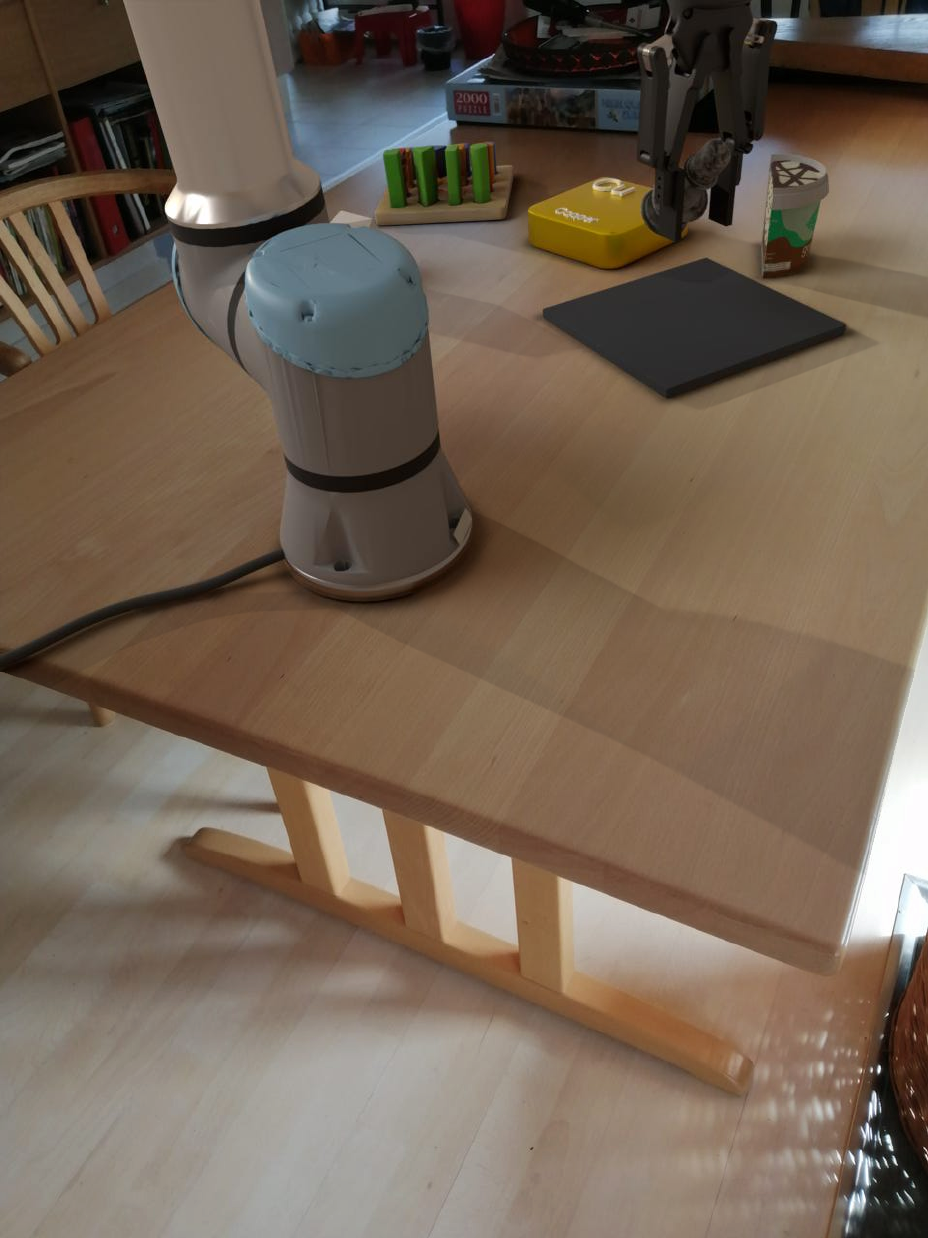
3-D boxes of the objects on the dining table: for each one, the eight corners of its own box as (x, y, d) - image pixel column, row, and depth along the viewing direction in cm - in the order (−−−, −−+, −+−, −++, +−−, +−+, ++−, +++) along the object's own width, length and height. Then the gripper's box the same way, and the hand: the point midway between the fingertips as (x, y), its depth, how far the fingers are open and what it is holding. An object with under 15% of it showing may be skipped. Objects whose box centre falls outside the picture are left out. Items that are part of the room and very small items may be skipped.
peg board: (514, 176, 144) (511, 111, 139) (505, 220, 131) (501, 151, 126) (395, 182, 147) (387, 119, 141) (374, 226, 134) (365, 159, 128)
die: (411, 288, 119) (390, 204, 118) (375, 278, 111) (352, 188, 110) (351, 311, 123) (330, 229, 122) (312, 303, 115) (289, 216, 114)
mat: (666, 398, 94) (666, 389, 93) (542, 317, 109) (542, 308, 108) (845, 333, 100) (846, 324, 100) (705, 265, 116) (706, 256, 115)
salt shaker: (700, 214, 102) (766, 145, 91) (669, 251, 101) (733, 185, 89) (658, 173, 102) (720, 99, 90) (627, 211, 100) (685, 139, 89)
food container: (821, 283, 109) (836, 189, 103) (762, 283, 111) (773, 189, 104) (814, 240, 118) (828, 151, 112) (760, 240, 120) (771, 152, 113)
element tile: (521, 243, 125) (520, 204, 122) (603, 208, 132) (603, 170, 129) (611, 273, 116) (612, 231, 113) (694, 233, 123) (697, 193, 120)
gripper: (771, -74, 88) (744, 196, 103) (595, -40, 83) (594, 241, 98) (832, -67, 83) (794, 217, 98) (650, -30, 77) (640, 265, 93)
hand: (695, 228), depth 98 cm, fingers closed on salt shaker, 5 cm apart
